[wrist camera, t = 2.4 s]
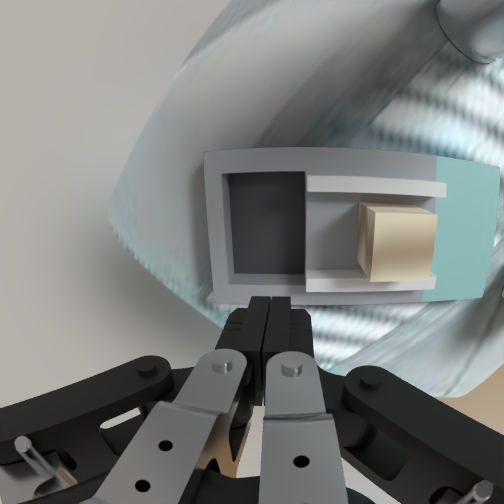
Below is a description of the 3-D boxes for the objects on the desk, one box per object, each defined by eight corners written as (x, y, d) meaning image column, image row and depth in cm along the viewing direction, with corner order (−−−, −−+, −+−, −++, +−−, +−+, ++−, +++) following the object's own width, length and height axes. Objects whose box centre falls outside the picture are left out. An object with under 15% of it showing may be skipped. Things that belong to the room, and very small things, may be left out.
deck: (212, 152, 26) (195, 150, 21) (484, 165, 22) (511, 168, 17) (222, 289, 30) (209, 312, 25) (469, 286, 26) (491, 305, 21)
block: (359, 202, 22) (375, 212, 18) (411, 204, 22) (437, 215, 17) (356, 259, 24) (369, 281, 19) (407, 258, 23) (428, 280, 18)
